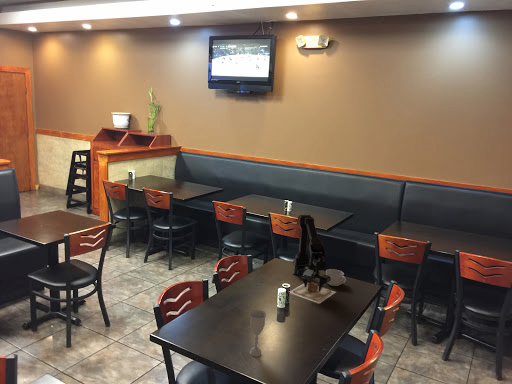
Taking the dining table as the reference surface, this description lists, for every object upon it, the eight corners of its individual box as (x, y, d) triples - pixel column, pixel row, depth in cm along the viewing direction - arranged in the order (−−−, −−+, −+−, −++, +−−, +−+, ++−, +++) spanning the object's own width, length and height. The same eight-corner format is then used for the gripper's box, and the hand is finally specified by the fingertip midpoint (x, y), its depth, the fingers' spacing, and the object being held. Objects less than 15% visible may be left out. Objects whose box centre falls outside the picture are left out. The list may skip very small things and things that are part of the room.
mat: (288, 292, 234) (288, 292, 234) (306, 282, 250) (306, 281, 249) (319, 304, 222) (319, 303, 222) (336, 292, 238) (336, 292, 238)
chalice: (263, 348, 178) (266, 310, 175) (264, 357, 171) (267, 318, 168) (246, 348, 178) (248, 309, 174) (247, 357, 171) (249, 317, 168)
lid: (293, 292, 234) (293, 284, 233) (307, 283, 247) (308, 276, 246) (317, 301, 225) (318, 292, 224) (331, 292, 237) (332, 283, 236)
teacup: (321, 281, 252) (322, 269, 250) (335, 279, 256) (337, 267, 255) (334, 291, 239) (336, 278, 238) (349, 288, 244) (351, 276, 242)
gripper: (293, 263, 232) (291, 288, 235) (322, 272, 221) (320, 299, 224) (303, 258, 240) (301, 283, 243) (332, 266, 229) (329, 292, 232)
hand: (312, 289), depth 235 cm, fingers open, 9 cm apart
